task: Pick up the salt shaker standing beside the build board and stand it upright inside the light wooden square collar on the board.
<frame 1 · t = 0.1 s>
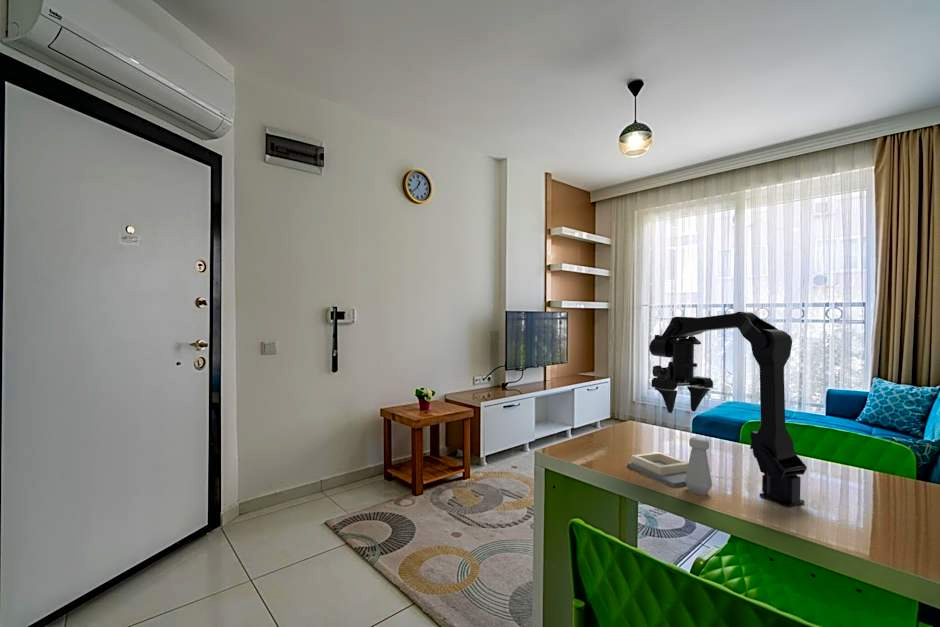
hand: (681, 412, 126), 15 cm above the table, tool pointing down, fingers open, 9 cm apart
build board: (667, 473, 116), on the table
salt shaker: (698, 492, 104), on the table
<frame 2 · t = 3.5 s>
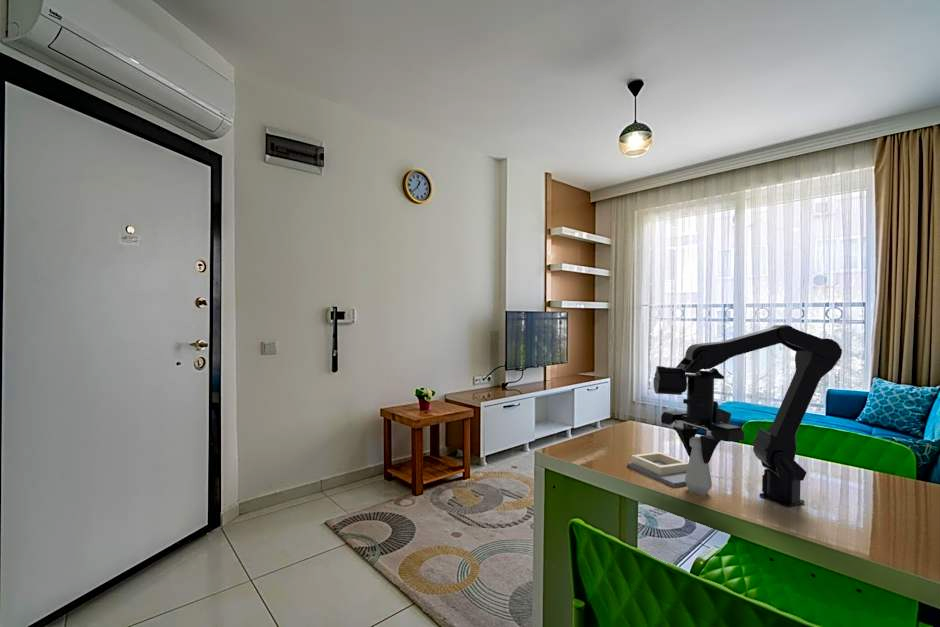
hand: (698, 460, 104), 8 cm above the table, tool pointing down, fingers closed on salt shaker, 4 cm apart
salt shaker: (698, 492, 104), on the table, touching gripper
when the fingers open (9 cm above the table, at t = 7.6 s): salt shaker stays where it is, resting on build board.
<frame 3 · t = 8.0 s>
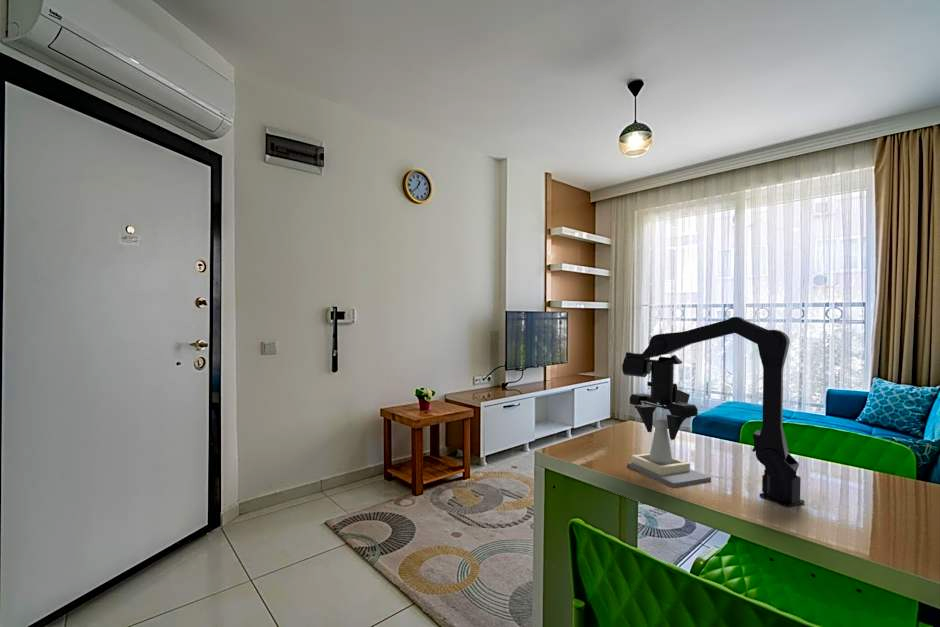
hand: (660, 435, 118), 9 cm above the table, tool pointing down, fingers open, 8 cm apart
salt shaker: (660, 467, 118), point 1 cm above the table, touching build board
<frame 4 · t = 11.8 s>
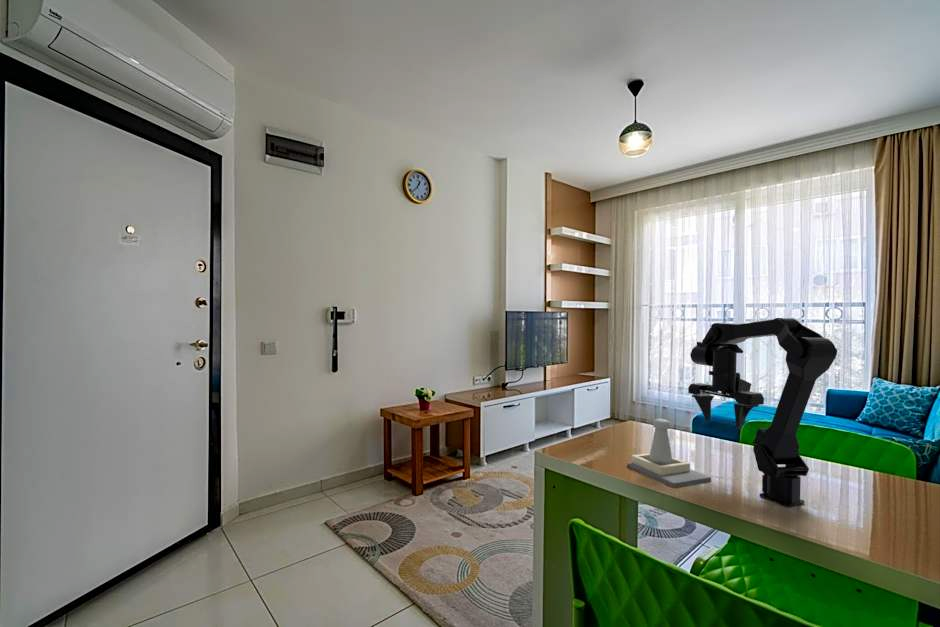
hand: (723, 424, 119), 13 cm above the table, tool pointing down, fingers open, 9 cm apart
nothing on the table moved.
at the end: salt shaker 0.2 cm from the target spot, point 0.8 cm above the table; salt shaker tilted 0°; the gripper is holding nothing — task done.
